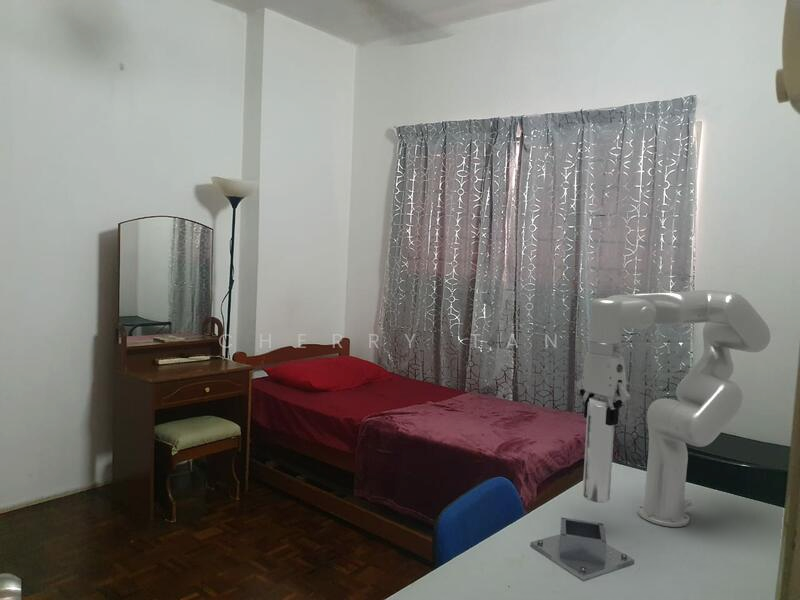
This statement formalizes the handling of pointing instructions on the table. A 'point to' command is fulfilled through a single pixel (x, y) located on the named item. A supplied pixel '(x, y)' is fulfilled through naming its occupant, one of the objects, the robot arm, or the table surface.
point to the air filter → (598, 451)
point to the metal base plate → (582, 549)
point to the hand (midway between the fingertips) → (600, 420)
